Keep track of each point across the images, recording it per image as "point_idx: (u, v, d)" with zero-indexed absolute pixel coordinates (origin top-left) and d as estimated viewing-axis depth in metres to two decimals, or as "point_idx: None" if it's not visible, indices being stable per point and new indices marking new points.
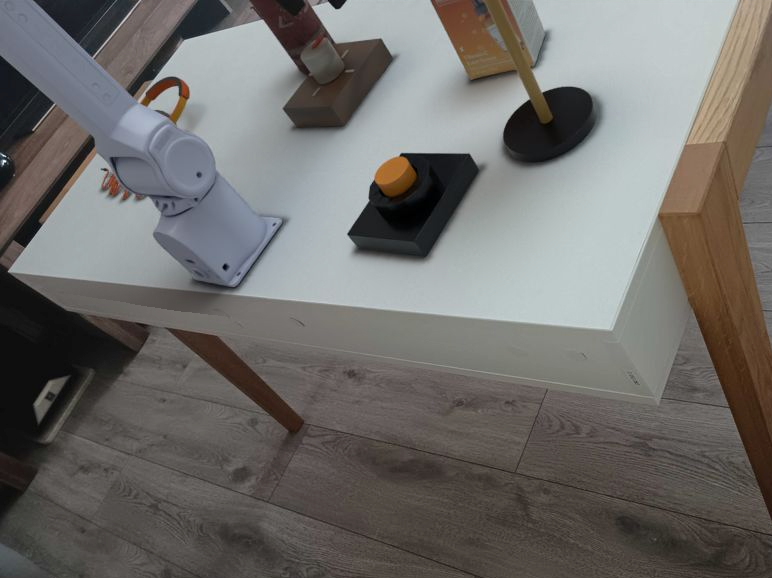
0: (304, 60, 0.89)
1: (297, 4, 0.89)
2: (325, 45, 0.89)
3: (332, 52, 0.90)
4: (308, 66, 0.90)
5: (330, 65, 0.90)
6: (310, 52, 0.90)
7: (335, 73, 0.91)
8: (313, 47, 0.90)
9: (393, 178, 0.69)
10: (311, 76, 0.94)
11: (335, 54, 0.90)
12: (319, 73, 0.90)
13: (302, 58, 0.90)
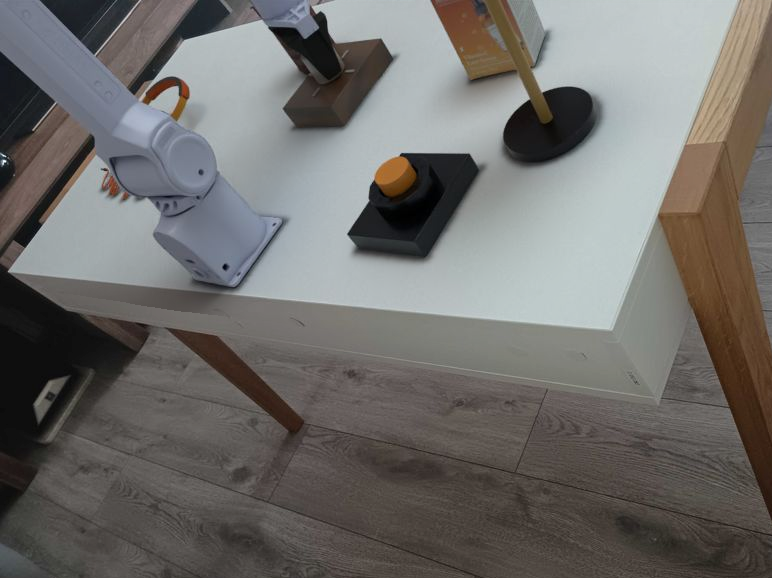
0: (304, 60, 0.89)
1: None
2: None
3: None
4: (308, 66, 0.90)
5: None
6: None
7: None
8: None
9: (393, 178, 0.69)
10: (311, 76, 0.94)
11: None
12: (319, 73, 0.90)
13: (302, 58, 0.90)
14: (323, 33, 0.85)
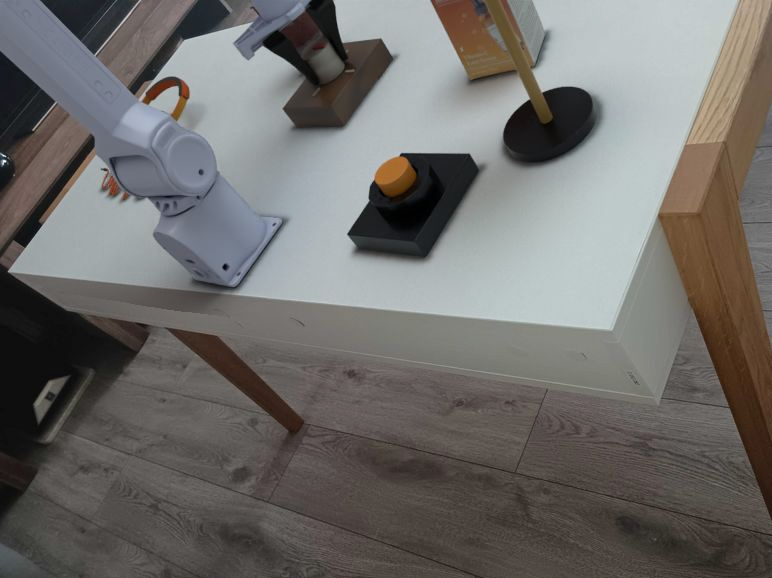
0: (304, 49, 0.91)
1: (338, 54, 0.92)
2: (308, 58, 0.89)
3: (314, 67, 0.90)
4: None
5: None
6: (310, 48, 0.90)
7: None
8: (314, 47, 0.90)
9: (393, 178, 0.69)
10: None
11: (319, 69, 0.90)
12: None
13: (308, 45, 0.91)
14: (282, 57, 0.87)
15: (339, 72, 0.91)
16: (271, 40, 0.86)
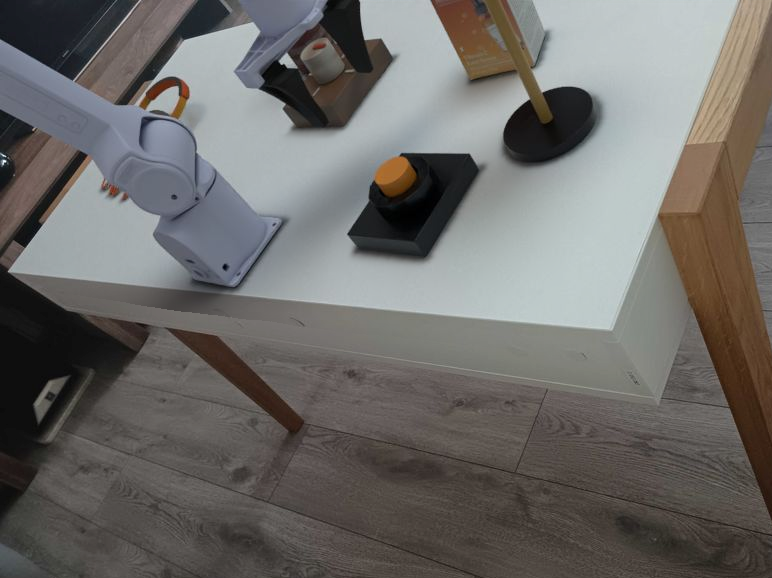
0: (304, 49, 0.91)
1: (360, 67, 0.75)
2: (308, 58, 0.89)
3: (315, 67, 0.90)
4: None
5: (312, 73, 0.91)
6: (310, 48, 0.90)
7: (317, 80, 0.92)
8: (314, 47, 0.90)
9: (393, 178, 0.69)
10: (311, 76, 0.94)
11: (319, 69, 0.90)
12: None
13: (308, 45, 0.91)
14: (286, 93, 0.69)
15: (339, 72, 0.91)
16: (271, 73, 0.68)
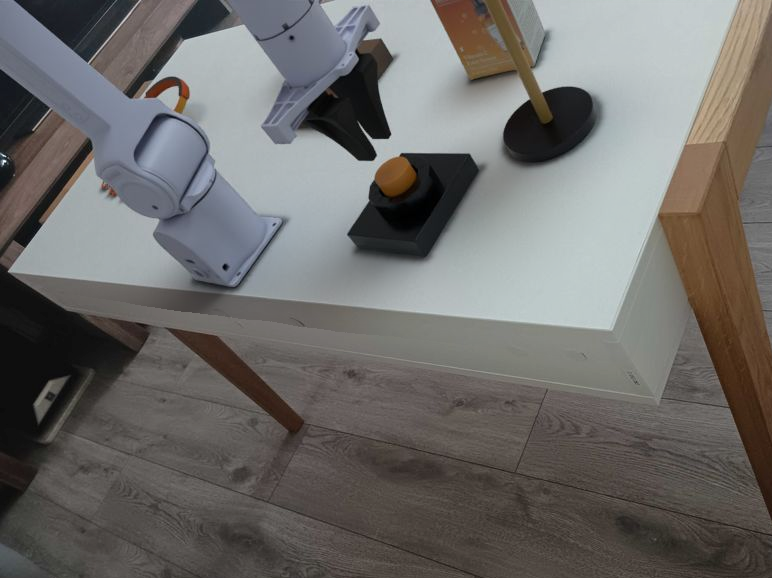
0: None
1: (377, 133, 0.68)
2: None
3: None
4: None
5: None
6: None
7: None
8: None
9: (393, 178, 0.69)
10: None
11: None
12: None
13: None
14: (335, 125, 0.62)
15: None
16: (319, 104, 0.61)
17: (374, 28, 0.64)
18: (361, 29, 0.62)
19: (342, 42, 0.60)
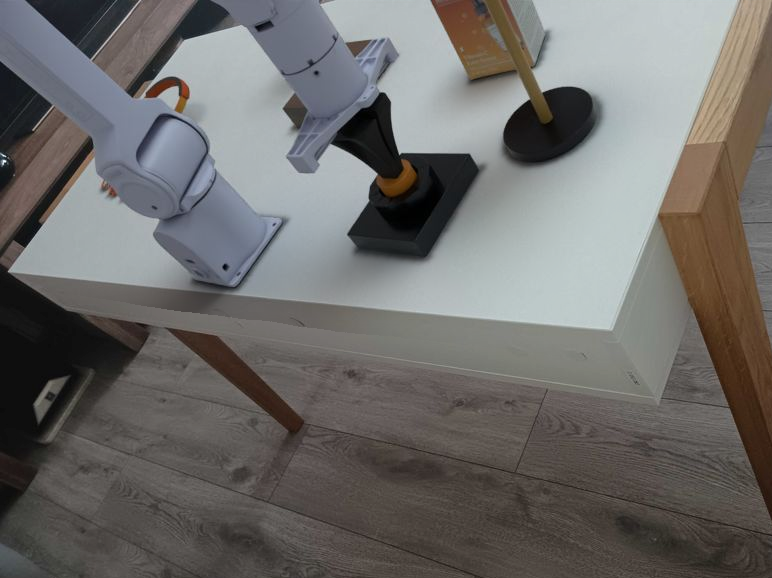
0: None
1: None
2: None
3: None
4: None
5: None
6: None
7: None
8: None
9: (395, 181, 0.69)
10: None
11: None
12: None
13: None
14: (362, 146, 0.65)
15: None
16: (347, 126, 0.64)
17: (393, 59, 0.66)
18: (381, 61, 0.65)
19: (364, 75, 0.62)
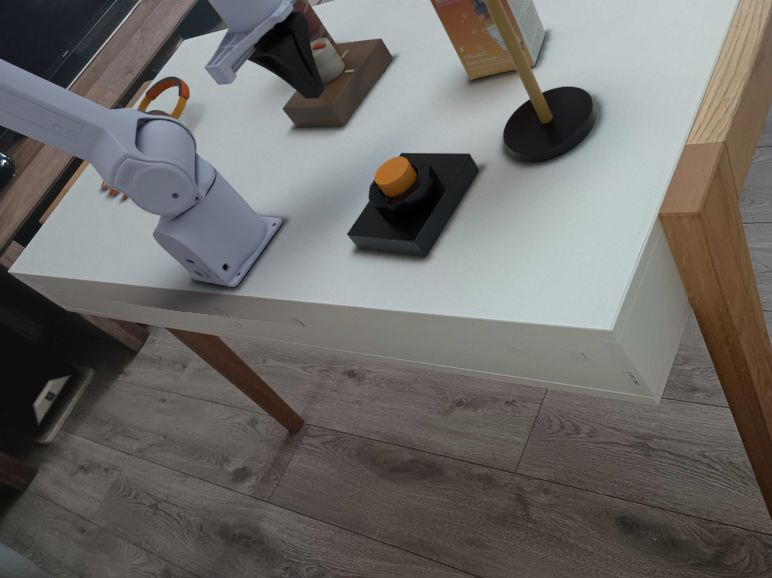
0: None
1: None
2: None
3: None
4: None
5: None
6: None
7: None
8: (314, 47, 0.90)
9: (393, 178, 0.69)
10: None
11: (319, 69, 0.90)
12: None
13: None
14: (280, 62, 0.69)
15: (339, 72, 0.91)
16: (265, 42, 0.68)
17: None
18: None
19: None
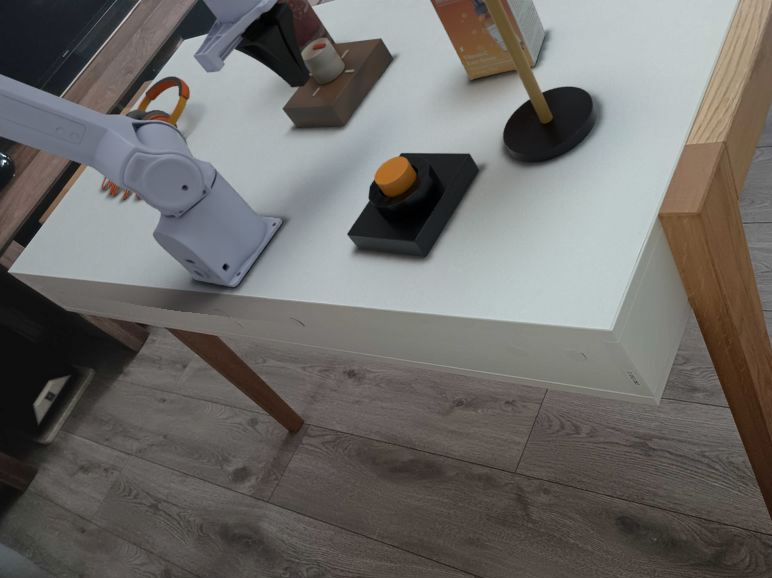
0: (304, 49, 0.91)
1: None
2: (308, 58, 0.89)
3: (315, 67, 0.90)
4: None
5: (312, 73, 0.91)
6: (310, 48, 0.90)
7: (317, 80, 0.92)
8: (314, 47, 0.90)
9: (393, 178, 0.69)
10: (311, 76, 0.94)
11: (319, 69, 0.90)
12: None
13: (308, 45, 0.91)
14: (267, 51, 0.72)
15: (339, 72, 0.91)
16: (251, 31, 0.71)
17: None
18: None
19: None
